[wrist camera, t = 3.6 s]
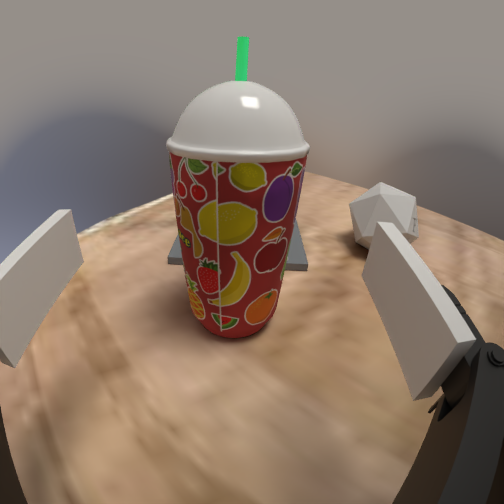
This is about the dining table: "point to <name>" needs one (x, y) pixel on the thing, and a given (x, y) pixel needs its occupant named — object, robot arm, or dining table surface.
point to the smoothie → (236, 199)
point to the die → (383, 213)
